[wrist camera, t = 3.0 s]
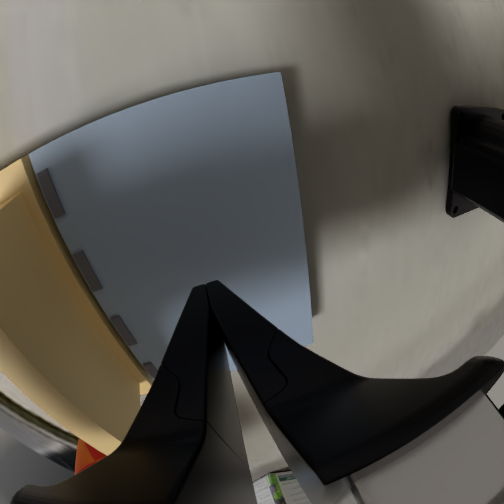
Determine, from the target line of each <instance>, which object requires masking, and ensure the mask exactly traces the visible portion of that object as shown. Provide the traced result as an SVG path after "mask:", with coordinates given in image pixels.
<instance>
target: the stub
mask: <svg viewBox="0 0 504 504" xmlns="http://www.w3.org/2000/svg"><path fill="white" fill-rule="evenodd" d="M0 371H1V372H2V373H3V374H4V375H5V376H6V377H7V378H8V379H9V380H10V381H11V382H12V383H13V384H14V385H15V386H16V387H17V388H18V389H19V390H20V391H21V392H22V393H23V394H25V395H26V396H27V397H28V398H29V399H30V400H31V401H32V402H34V403H35V404H36V405H37V406H38V407H39V408H41V409H42V410H43V411H44V412H45V413H47V414H48V415H49V416H50V417H52V418H53V419H54V420H56V421H57V422H58V423H59V424H61V425H62V426H63V427H65V428H66V429H68V430H69V431H70V432H72V433H73V434H74V435H76V436H77V437H79V438H80V439H82V440H83V441H85V442H86V443H88V444H89V445H91V446H92V447H94V448H95V449H97V450H99V451H100V452H102V453H104V454H105V455H107V456H108V455H109V454H111V453H112V452H113V451H115V450H116V449H117V448H118V446H119V445H120V444H121V443H122V441H123V440H124V438H125V436H126V434H127V432H128V431H129V429H130V427H131V425H132V423H133V421H134V419H135V417H136V415H137V413H138V412H139V410H140V395H143V394H148V392H149V390H150V388H151V386H152V383H153V381H154V380H153V379H152V377H151V376H150V375H149V374H148V372H147V371H146V370H145V368H144V367H143V366H142V365H141V363H140V362H139V361H138V359H137V358H136V357H135V355H134V354H133V353H132V351H131V350H130V348H129V347H128V346H127V344H126V343H125V342H124V340H123V339H122V337H121V336H120V334H119V333H118V331H117V330H116V329H115V327H114V326H113V324H112V323H111V321H110V320H109V318H108V316H107V315H106V313H105V312H104V310H103V309H102V307H101V306H100V304H99V302H98V301H97V299H96V297H95V296H94V294H93V292H92V291H91V289H90V287H89V286H88V284H87V282H86V281H85V279H84V277H83V275H82V273H81V272H80V270H79V268H78V266H77V264H76V263H75V261H74V259H73V257H72V255H71V253H70V251H69V249H68V247H67V245H66V243H65V241H64V239H63V237H62V235H61V233H60V231H59V229H58V227H57V225H56V222H55V220H54V218H53V216H52V214H51V211H50V209H49V207H48V204H47V202H46V200H45V197H44V195H43V192H42V190H41V187H40V185H39V182H38V180H37V177H36V174H35V172H34V169H33V166H32V163H31V160H30V157H29V154H28V155H26V156H24V157H23V158H21V159H19V160H17V161H16V162H14V163H12V164H11V165H9V166H8V167H6V168H4V169H3V170H1V171H0Z"/></svg>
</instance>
